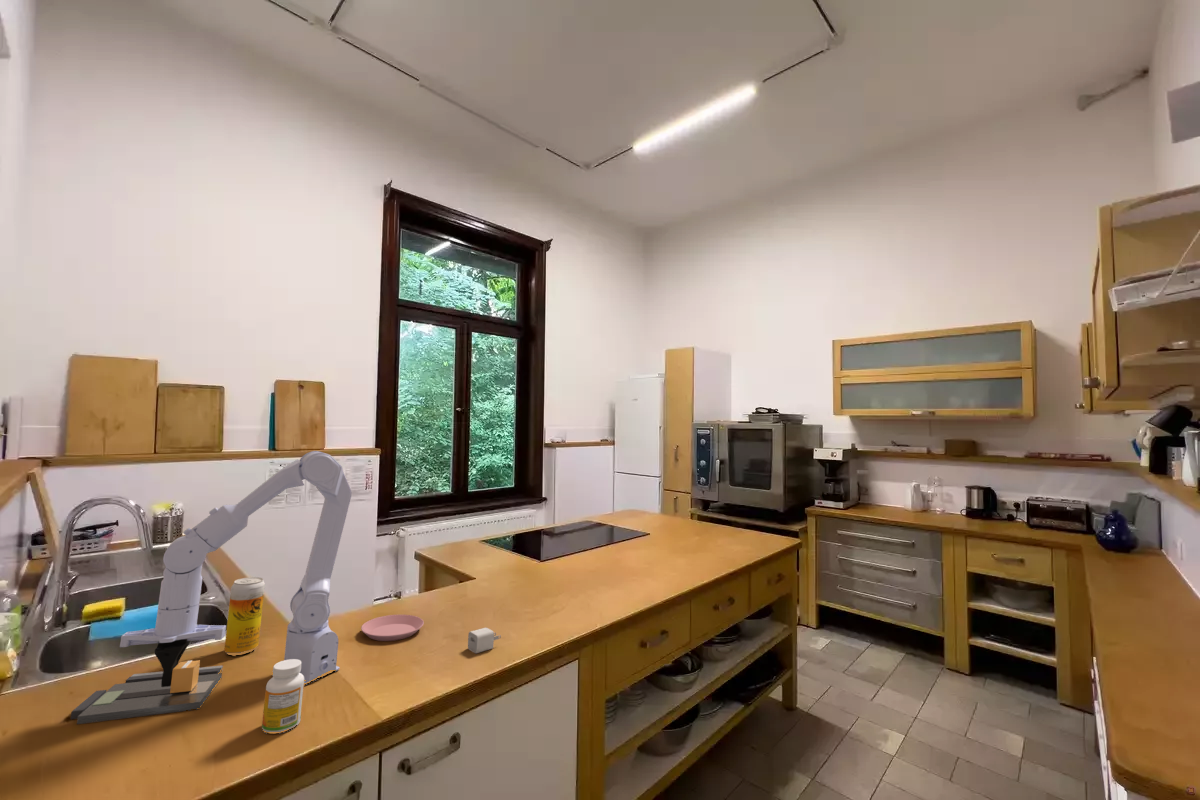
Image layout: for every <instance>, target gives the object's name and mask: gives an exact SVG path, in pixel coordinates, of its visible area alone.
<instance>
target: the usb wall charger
mask: <svg viewBox="0 0 1200 800" xmlns="http://www.w3.org/2000/svg"><path fill="white" fill-rule="evenodd" d="M501 638H502V636H501V634H499V635H497V633H496V632H495V631H493V630H492V629H490V628H488V627H483V628H479V629H476V630H471V631H469V632H468V637H467V648H468V650H469V651H471V652H472V653H474V654H479V653H483V652H485V651H488V650H493V649H494V642H495V641H496V640H499V639H501Z"/></svg>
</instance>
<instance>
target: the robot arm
mask: <svg viewBox="0 0 1200 800" xmlns="http://www.w3.org/2000/svg"><path fill="white" fill-rule="evenodd" d="M344 472H345V471H344V470H343V466H342V465H341V464H340V463H339V462H338V461H337V460H336V459H335V458H334V457H333V456H332V455H331V454H329V453H325V452H323V451H317V450H313V451H309V452H307V453H305V454H304V455H302V456H301V458H300V459H295V460H294V461H292V462H291V463H289V464H287V465H286V466H283V467H282V468H281V469H279V470H278V471H276V473H275V474H273V475H272V476H271V477H269V478H268V479H267V480H265V481H264V482H263V483H262V484H260V485H259V486H258V487H257V488H255V489H254V490H253V491H252V492H250V493H249V494H248V495H246V496H245V497H244V498H243V499H241V500H240V501H239V502H238V503H235V504H223V505H222V506H220V507H219V508H218V507H217V506H216V507H214V508H212V509H211V510H209V511H208V514H209V515H208V516H207V517H206V518H204V519H203V520H201V521H200V522H199V523H197V524H196V525H195V526H192V528H190V527H188V528H186V529H185V530H184V531H183V532H182V533H183V535H184V536H180V537H177V538H176V539H175V540H173V541H172V542H171V543H170V544H169V545H168V547H167V548H166V550H165V552H164V554H163V561H162V562H163V564H164V566H165V568H164V570H163V572H162V573H163V574H162V577H163V579H162V580H161V582H160V590H159V591H160V592H159V597H158V605H157V612H156V619H155V620H156V621H155V628H149V629H142V630H134V631H127V632H125V633H123V634H122V635H121V637H120V643H119V648H127V647H129V646H137V645H152V644H157V646H156V648H155V649H154V655H155V657H156V658H157V659H158V662H159V663H160V665H161V668H162V671H163V676H162V681H161V687H168V686H171V681H172V672H173V669H174V668H175V667H176V666H177V665H178V664H179V663H180V660H181V658H182V656H183V654H185V651H186V649H187V647H189V645H190V643H191V642H193V641H204V640H214V641H220V640H223V638H224V637H226V630H227V624H226V625H225V624H224V625H222V624H221V625H219V624H218V625H217V624H216V625H215V624H213V625H212V624H211V625H209V624H198V616H199V611H200V610H199V608H200V603H201V602H200V600H201V593H202V584H203V575H202V570H203V564H204V562H205V560H206V557H207V555H208V554H209V553H213V552H217V550H218V549H220V548H221V547H222V546H224V545H225V544H226V543H227V542H229V541H230V540H231V539H232V538H234V537H235V536H236V535H237V534H240V532H242V530H244V529H245V528H247V527H248V521H249V516H251V515H252V514H254V513H255V512H257V511H259V509H261V508H262V507H263V506H265V505H266V504H267V503H269V502H271V501H272V500H273V499H274V498H276V497H277V496H279V495H280V494H281V493H283V492H284V491H285V490H287V489H291V488H298V487H303V486H305V483H304V482H303V480H305V481H307V482H308V483H310V484H311V485H313V486H315V487H316V489H317V490H318V491H319V493H321V495H322V497H323V498H324V501H323V505H322V509H321V512H320V516H319V519H318V523H317V528H316V531H315V534H314V539H313V544H312V546H311V551H310V554H309V558H308V562H307V565H306V569H305V574H304V576H303V578H302V580H301V582H300V585H299V588H298V590H297V591H296V592H295V593H294V595H293V596H292V598H291V600H290V602H289V603H290V606H289V607H290V611H291V613H292V615H293V617H292V620H290V622H289V623H288V624H287V629H286V637H285V638H286V639H285V648H284V649H285V650H284V660H289V659H298V660H300V661H301V671H300V672H299V673H301V674H302V675H303V676H304V680H306V681H304V683H307V682H309V681H311V680H313V679H315V678H317V677H318V676H321V675H322V674H324V673H326V672H328V671H330V670H336V671H335V672H337V671H339V670H340V666H339V665H337V662H338V651H339V637H338V635H337V633H336V632H335V631H333V630H331V628H330V626H329V622H330V621H329V617H330V615H331V606H330V603H329V598H330V597H329V596H330V592H331V578H332V574H333V570H334V566H335V561H336V558H337V556H338V555H337V554H338V551H339V546H340V543H341V539H342V534H343V532H344V531H343V530H344V526H345V523H346V519H347V516H348V515H347V514H348V512H349V508H350V507H349V506H350V503H351V500H352V489H351V487H350V484H349V482H348V480H347V477H346V475H345V473H344ZM284 660H283V661H284Z"/></svg>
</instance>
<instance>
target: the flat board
mask: <svg viewBox="0 0 1200 800" xmlns="http://www.w3.org/2000/svg"><path fill="white" fill-rule="evenodd" d="M223 667H224V665H216V666H215V665H213V666H204V667H199V675H198V676H200V675H209V674H218V673H219V672H220V670H221V669H222V668H223ZM222 670H223V669H222ZM162 676H163V670H162V671H155V672H154V671H153V672H145V673H133V674H132V675H131V676H129V677H128V678H126V679H125V683H132V682H142V681H151V680H161V679H162ZM107 691H108V689H100V690H96V691H94V692H93V693H92V694H90V695H89V696H88V697H87V698H86V699H84V701H83V702H80V704H79V705H78V706H76V707H75V708H74V709H73V710H71V713H70V720H76V719H77V718H78V716H79V715H80V714H81V713H82V712H83V711H85V710H86V709H87V708H88V707H89V706H90V705H92V704H93V703H94V702H95V701H96V700H97V699H98V698H100V697H101V696H102V695H103V694H104V693H105V692H107Z"/></svg>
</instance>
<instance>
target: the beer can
mask: <svg viewBox="0 0 1200 800" xmlns="http://www.w3.org/2000/svg"><path fill="white" fill-rule="evenodd" d="M265 588H266V583H265V581H264V578H263V577H258V576H255V577H253V576H252V577H251V576H250V577H243V578H238V579H235V580H234V581H233V584H232V585H231V586H230V595H229V605H228V612H227V623H226V631H225V639H224V650H223V651H224V652H225V653H226V652H227V653H241V652H244V651H249V650H251V649H254V648H256V647H257V646H258V647H259V643H260V635H261V626H262V625H261V624H262V616H263V606H264V596H265ZM256 649H257V648H256ZM227 653H226V654H227Z"/></svg>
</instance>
